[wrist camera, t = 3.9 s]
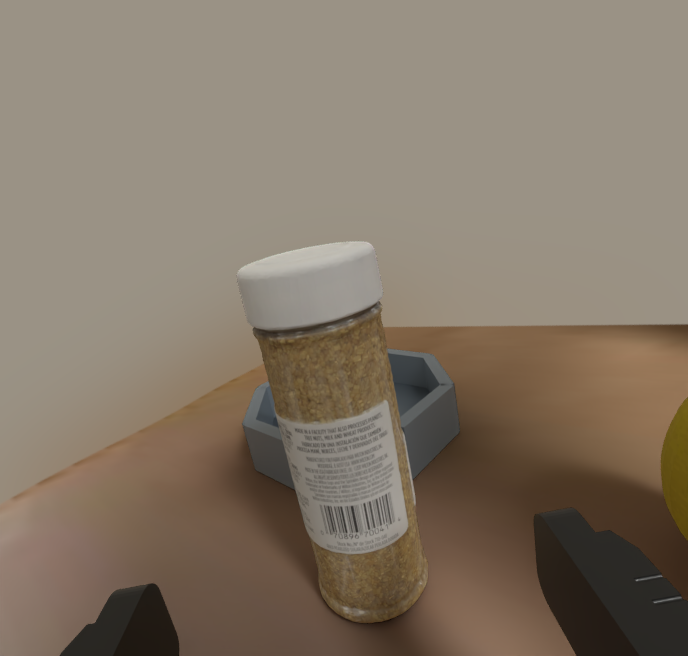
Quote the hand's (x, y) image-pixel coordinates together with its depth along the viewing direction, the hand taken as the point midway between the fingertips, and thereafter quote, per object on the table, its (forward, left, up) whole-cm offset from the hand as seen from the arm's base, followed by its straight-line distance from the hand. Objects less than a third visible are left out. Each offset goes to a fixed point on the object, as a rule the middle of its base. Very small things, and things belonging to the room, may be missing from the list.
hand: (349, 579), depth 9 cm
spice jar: (0, -7, -7) cm, 10 cm away
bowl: (0, -19, -7) cm, 20 cm away
